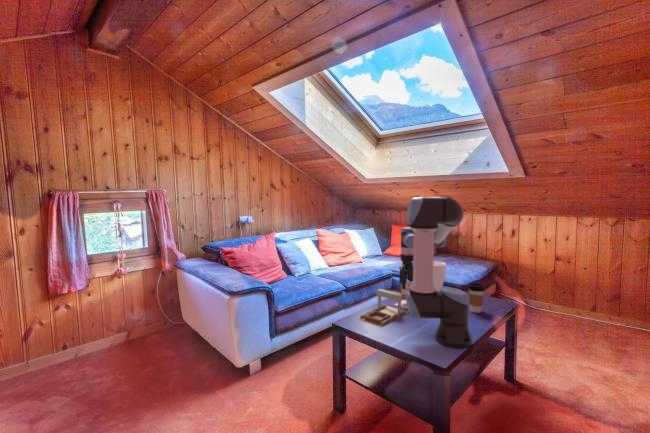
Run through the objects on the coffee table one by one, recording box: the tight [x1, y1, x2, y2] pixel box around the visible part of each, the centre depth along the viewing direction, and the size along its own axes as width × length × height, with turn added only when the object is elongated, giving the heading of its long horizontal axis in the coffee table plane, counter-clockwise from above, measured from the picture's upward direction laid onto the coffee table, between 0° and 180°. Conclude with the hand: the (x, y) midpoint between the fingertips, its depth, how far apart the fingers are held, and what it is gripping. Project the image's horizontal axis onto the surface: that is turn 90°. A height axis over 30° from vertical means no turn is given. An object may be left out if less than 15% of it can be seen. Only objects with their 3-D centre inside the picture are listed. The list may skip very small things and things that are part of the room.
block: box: [400, 285, 411, 301], centre depth 191 cm, size 5×5×8 cm
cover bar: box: [376, 288, 402, 313], centre depth 175 cm, size 3×14×10 cm, turn 46°
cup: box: [433, 260, 447, 292], centre depth 202 cm, size 12×12×22 cm
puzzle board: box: [357, 304, 409, 328], centre depth 172 cm, size 26×14×4 cm, turn 136°
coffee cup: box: [467, 282, 485, 314], centre depth 180 cm, size 8×8×15 cm
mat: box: [393, 300, 408, 310], centre depth 191 cm, size 11×11×1 cm
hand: (407, 293), depth 190 cm, fingers closed on block, 5 cm apart
